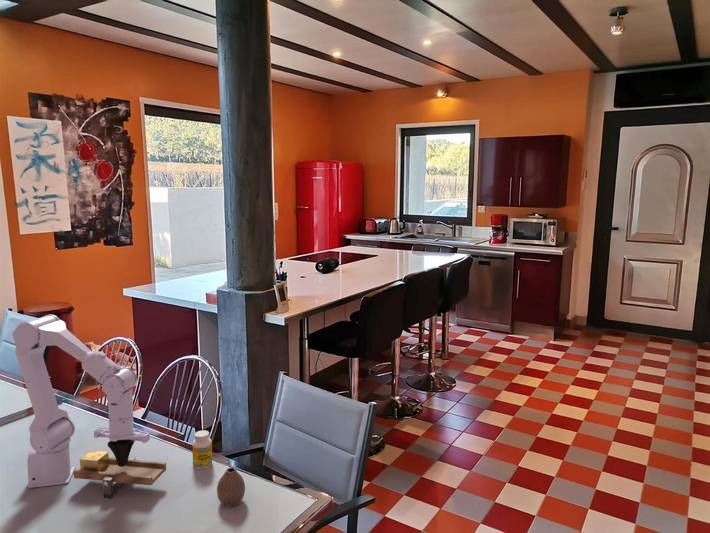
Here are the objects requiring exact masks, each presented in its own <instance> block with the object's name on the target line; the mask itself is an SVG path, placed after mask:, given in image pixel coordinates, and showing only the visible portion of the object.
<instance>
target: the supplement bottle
mask: <svg viewBox="0 0 710 533" xmlns="http://www.w3.org/2000/svg"><path fill="white" fill-rule="evenodd" d="M191 446H192V448H191V449H192V467H193V468H194V469H197V470H205V469H208V468H209V467H211V465H212V464H213V440H212V439H211V438H210V432H209V431H208V430H205V429H204V430H198V431H196V432H195V433H194V439H193V441H192V445H191Z"/></svg>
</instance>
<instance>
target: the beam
mask: <svg viewBox="0 0 710 533" xmlns="http://www.w3.org/2000/svg"><path fill="white" fill-rule="evenodd" d="M166 471H167V462H163V461H153V460H152V461H150V460H142V459H141V460H140V459H136V460H131V459H128V463H127V464H126V465H125V466H124V467H119V466H118V463H117V460H116V458H115V457H109V465H107V466H106V467H105V468H104V469H103V470H101V471H90V470H80V468H78V469H77V468H75V470H74V471H73V478H74V479H78V480H79V479H82V480H92V481H100V482H103V479H104V478H105V477H110V478H113V483H116V482H120V483H127V484H132V485H143V486H152V485H153V484H154V483H155V482H156V481H157V480H158V479H159V478H160V477H161V476H162V475H163V473H165V472H166Z"/></svg>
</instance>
